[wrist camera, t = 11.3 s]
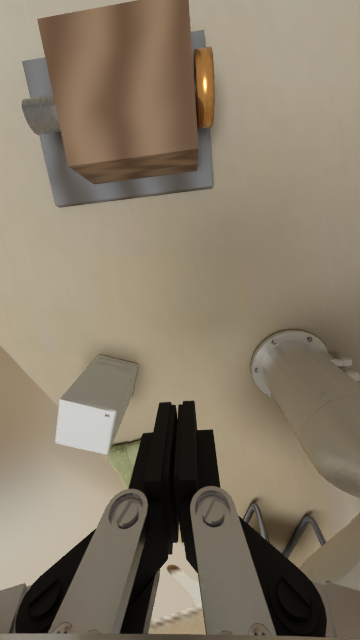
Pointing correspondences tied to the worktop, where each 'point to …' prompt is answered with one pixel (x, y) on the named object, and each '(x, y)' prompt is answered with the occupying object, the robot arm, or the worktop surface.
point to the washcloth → (124, 460)
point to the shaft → (46, 120)
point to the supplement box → (96, 405)
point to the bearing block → (121, 102)
